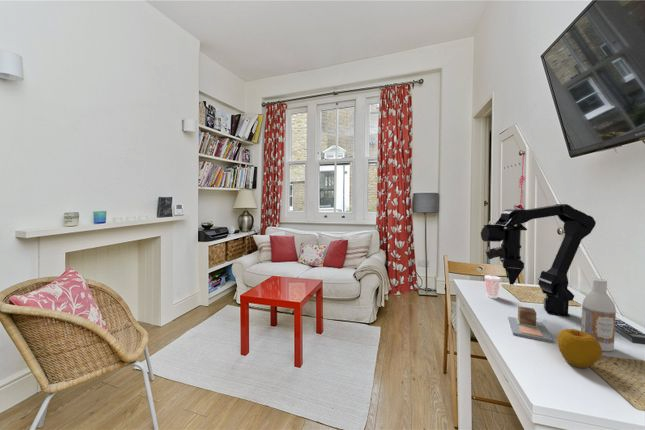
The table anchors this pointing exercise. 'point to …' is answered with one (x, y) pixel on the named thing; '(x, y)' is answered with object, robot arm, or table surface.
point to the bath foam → (599, 315)
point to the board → (530, 330)
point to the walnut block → (526, 316)
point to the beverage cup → (492, 285)
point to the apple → (579, 348)
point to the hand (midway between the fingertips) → (510, 281)
